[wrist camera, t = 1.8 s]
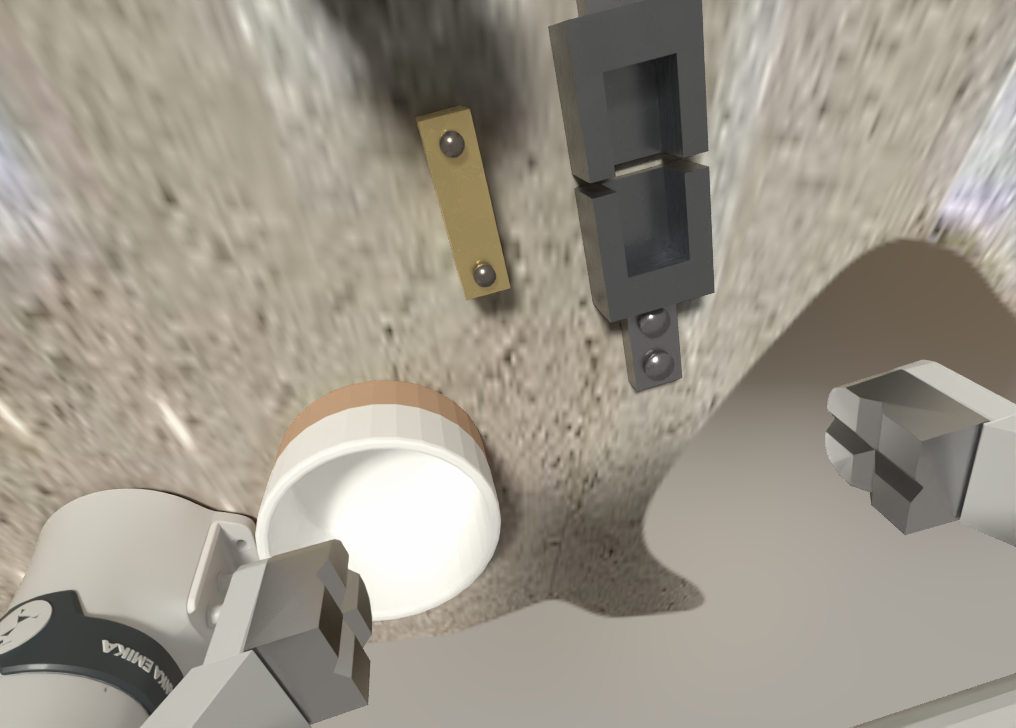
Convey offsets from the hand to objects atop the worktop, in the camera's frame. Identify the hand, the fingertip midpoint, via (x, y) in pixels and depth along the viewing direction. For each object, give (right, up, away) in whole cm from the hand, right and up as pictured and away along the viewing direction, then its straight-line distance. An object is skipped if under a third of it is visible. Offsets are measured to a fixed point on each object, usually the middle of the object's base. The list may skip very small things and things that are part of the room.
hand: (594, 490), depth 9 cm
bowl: (-12, -7, +38) cm, 40 cm away
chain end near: (+5, +24, +26) cm, 35 cm away
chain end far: (+9, +8, +34) cm, 37 cm away
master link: (-5, +14, +29) cm, 32 cm away
